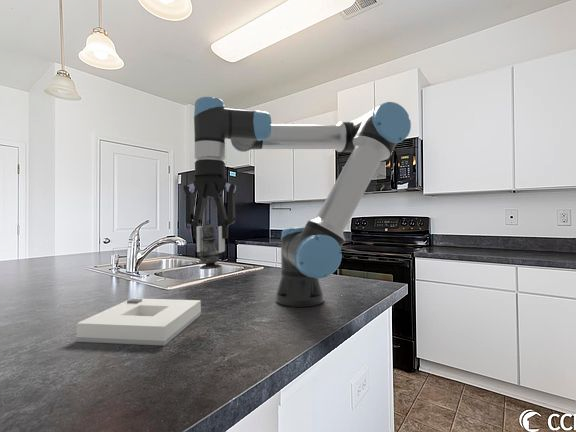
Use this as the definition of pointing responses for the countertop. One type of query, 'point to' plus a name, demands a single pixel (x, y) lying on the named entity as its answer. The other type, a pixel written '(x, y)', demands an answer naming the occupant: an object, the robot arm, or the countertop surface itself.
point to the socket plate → (140, 322)
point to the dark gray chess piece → (209, 248)
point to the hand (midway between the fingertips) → (211, 251)
